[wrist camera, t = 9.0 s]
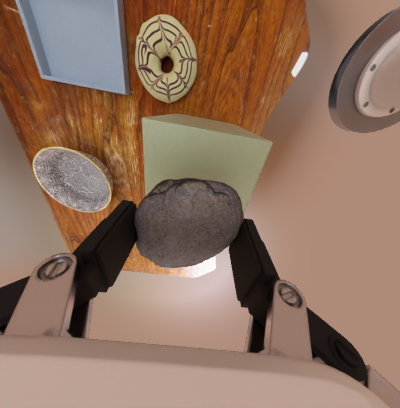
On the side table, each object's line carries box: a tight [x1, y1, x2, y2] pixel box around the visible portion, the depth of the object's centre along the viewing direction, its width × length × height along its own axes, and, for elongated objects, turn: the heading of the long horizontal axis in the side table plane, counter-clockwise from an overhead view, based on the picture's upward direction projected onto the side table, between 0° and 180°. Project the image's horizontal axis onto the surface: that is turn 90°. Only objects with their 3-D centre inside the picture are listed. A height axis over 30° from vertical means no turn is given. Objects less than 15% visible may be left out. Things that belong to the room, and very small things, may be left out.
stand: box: [142, 113, 273, 214], centre depth 25 cm, size 12×12×22 cm
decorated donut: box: [135, 15, 197, 103], centre depth 25 cm, size 10×11×4 cm
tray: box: [15, 0, 130, 96], centre depth 24 cm, size 15×13×2 cm
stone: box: [134, 178, 244, 268], centre depth 10 cm, size 7×8×2 cm
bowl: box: [33, 147, 113, 212], centre depth 35 cm, size 16×16×8 cm
